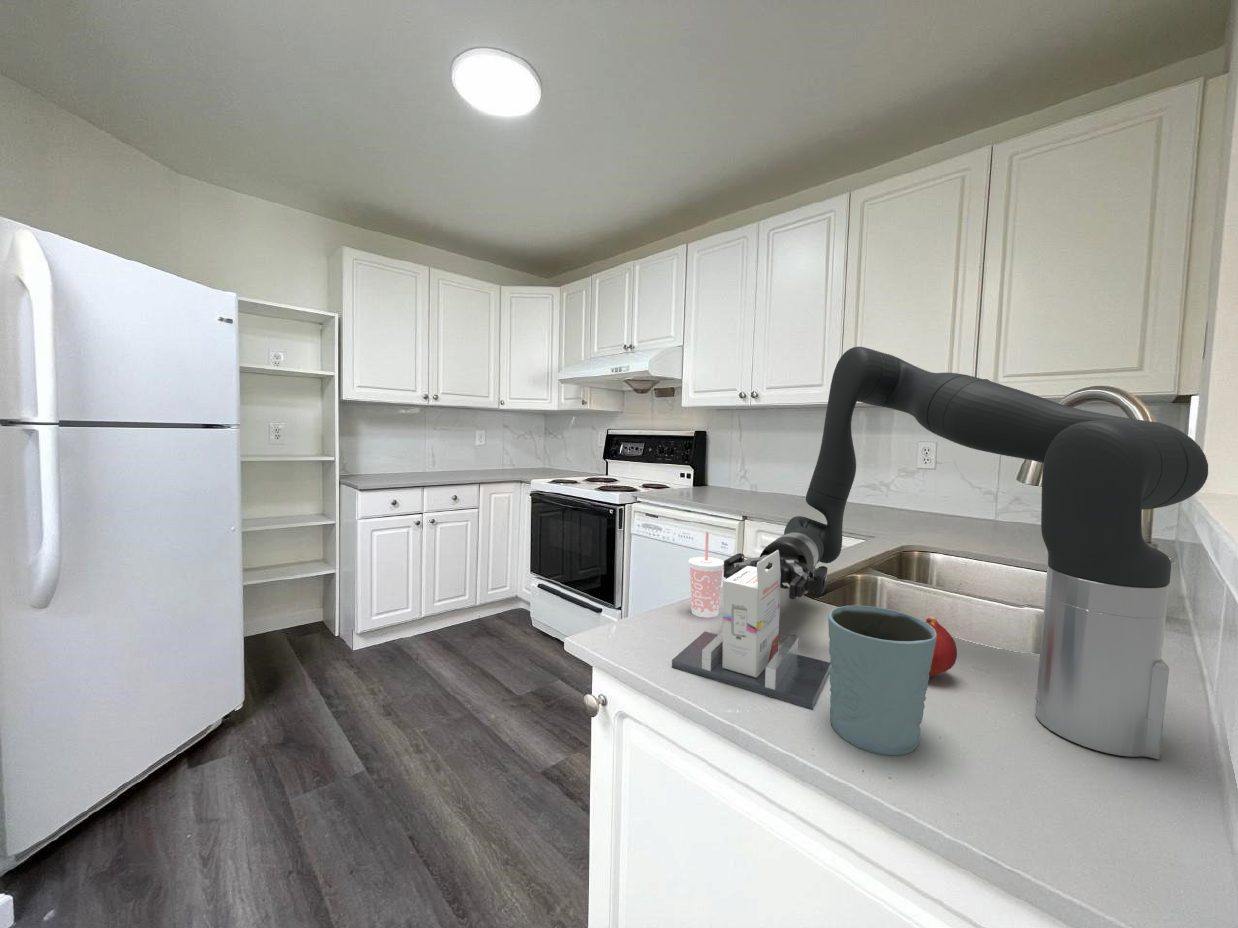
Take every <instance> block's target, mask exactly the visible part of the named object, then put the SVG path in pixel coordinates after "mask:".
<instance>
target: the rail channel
mask: <svg viewBox="0 0 1238 928" xmlns="http://www.w3.org/2000/svg"><path fill="white" fill-rule="evenodd" d="M722 659H723V630H722V631H720V632H719V634H717V633H713V632H710V631H703V632H702V633H701V634H700V635H699V636H698V637H696V638H695V639H694V640H693V641H691V643H689V644H688V645H687V646H686V647H685V648H684V649H683V650H682V651H681V652H679V653H678V654H677V655H676V656H675V657H674V658H672V659H671V667H672V668H674V669H676V670H680V671H683V672H687V673H691V674H694V675H696V676H700V677H703V678H707V679H710V680H714V681H717V682H720V683H723V684H727V685H730V686H733V687H737V688H740V689H743V690H746V691H751V692H753V693H756V694H760V695H762V696H763V695H764V696H767V697H770V698H774V699H776V700H780V701H784V702H786V703H789V704H794V705H796V706H800V707H804V708H807V709H810V710H813V709H814V707H815V705H816V703H817V700H818V698H819V697H820V694H821V691H822V690H823V688H824V685H825V683H826V681H827V679H828V676H830V668H831V663H830V661H825V660H822V659H817V658H814V657H809V656H804V655H802V654H799V636H797V635H791V634H789V635H788V636H787V638H786V639H785V640H784V641H783V643H781V646H780V647H778V651H777V652H776V654H775V655H774V657H773V658H772V659H771V661H770V662H769V663H768V665H767V666H766V668H765V669H764V670H763V671H762V672H761V674H760V675H759V676H758V677H757V678H756V677H752V676H748V675H745V674H742V673H738V672H735V671H732V670H728V669H725V668H722Z"/></svg>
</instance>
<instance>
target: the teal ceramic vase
mask: <svg viewBox="0 0 1238 928" xmlns="http://www.w3.org/2000/svg"><path fill="white" fill-rule="evenodd" d="M827 623H828V627H827V628H828V638H829V642H828V644H829V645H828V646H829V647H828V650H829V652H828V653H829V659H830V660H829V662H830V663H831V668H830V673H829V684H830V688H829V691H830V695H829V698H830V699H829V700H830V704H829V705H830V707H829V716H830V717H829V718H830V719H829V720H830V724H831V727H832V728H833V730H834V732H836V734H837V735H838V736H840V737H841V738H842V739H843V740H844V741H845V742H848V743H849V744H851V745H852V746H855V747H856V748H859V749H861V750H865V751H867V752H869V753H870V752H871V753H874V754H878V755H883V756H904V755H907V754H910V753H912V752H914V751H915V750H916V748H918V745H919V743H920V737H921V724H922V722H923V717H924V710H925V703H924V702H926V700H927V699H926V698H927V697H926V694H927V691H928V687H929V686H928V683H929V680H930V677H929V672H930V669H931V663H932V659H933V654H934V649H935V644H936V639H937V634H936V631H935V629H934V628H933V627H932V626H930V625H929V624H928V623H926V621H924V620H922V619H920V618H917V617H916V616H913V615H911V614H907V613H904V612H901V611H897V610H894V609H889V608H884V607H879V606H878V607H877V606H869V605H844V606H838V607H835V608H833V609H831V610H830V611H829V612H828V614H827Z"/></svg>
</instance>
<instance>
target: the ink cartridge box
mask: <svg viewBox="0 0 1238 928" xmlns="http://www.w3.org/2000/svg"><path fill="white" fill-rule="evenodd" d="M768 563H772V567H771V568H770V569H765V568H766V566H768ZM780 579H781V572H780V556H779V550H777V551H775V552H774V553H772V554H770V555H768V556H767V557H765V558H764V559H762V560H761V561H759V562H758V563H757V567H752V566H747V567H745V568H743V569H742V570H740V571H739V572H737V573H735V574H734V575H732V576H731V577H729V578H727V579H726V578H725V579H724V580H722V591H723V593H722V594H723V595H722V597H723V598H722V601H723V602H722V631H723V659H722V668H725V669H728V670H732V671H735V672H738V673H742V674H745V675H748V676H752V677H756V678H757V677H758V676H759V675H760V674H761V672H762V671H763V670H764V669H765V668H766V666H767V665H768V663H769V662H770V661H771V659H772V658H773V657H774V655H775V654H776V652H777V651H778V650H779V635H780V634H779V633H780V607H781V605H780V604H781V603H780V602H781V588H780Z"/></svg>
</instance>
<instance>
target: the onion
mask: <svg viewBox="0 0 1238 928" xmlns="http://www.w3.org/2000/svg"><path fill="white" fill-rule="evenodd" d="M925 620H926V621H925V622H926V623H928V624H929V625H930V626H932V627H933V628H934V629H935V631H936V634H937V639H936V644H935V649H934V654H933V659H932V663H931V669H930V672H929V678H932V677H935V676H938V675H941V674H944V673H946V672H948V671H950V670H951V669H952V667H954V665H955V664H956V661H957V658H958V648H957V643H956V641H955V639H954V638H953V636H952V635H951V634H950V633H949V632H948V630H947V629H946V628H945V627H944V626H942V625H941V624H940V623H939V622H938V620H937V618H936V617H934V616H928V617H927V618H926V619H925Z"/></svg>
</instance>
